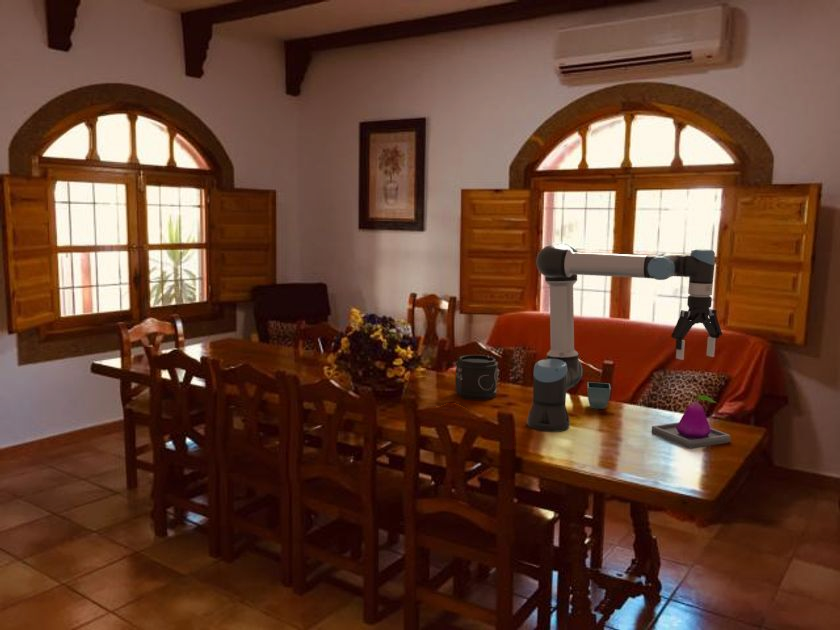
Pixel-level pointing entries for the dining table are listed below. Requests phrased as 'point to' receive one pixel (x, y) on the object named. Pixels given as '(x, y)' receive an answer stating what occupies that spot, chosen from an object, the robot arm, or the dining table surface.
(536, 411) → the robot arm
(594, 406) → the flower pot
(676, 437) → the grey square tray
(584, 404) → the dining table surface
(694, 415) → the pear
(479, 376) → the dark grey canister
